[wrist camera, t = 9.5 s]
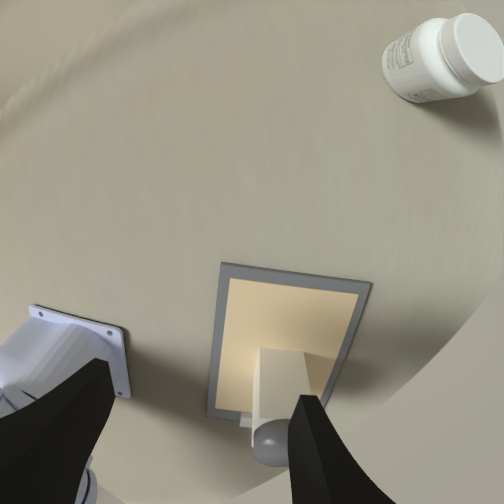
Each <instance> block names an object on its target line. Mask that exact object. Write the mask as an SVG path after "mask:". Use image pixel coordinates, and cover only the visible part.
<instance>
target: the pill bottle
mask: <svg viewBox="0 0 504 504" xmlns="http://www.w3.org/2000/svg"><path fill="white" fill-rule="evenodd" d="M382 70H383V73H384V76H385V78H386V80H387V82H388V84H389V85H390V87H391V88H392V89H393V90H394V91H395V92H396V93H397V94H398V95H399V96H401V97H402V98H404V99H406V100H408V101H411V102H416V103H423V102H430V101H436V100H443V99H451V98H459V97H465V96H469V95H472V94H474V93H475V92H476V91H477V90H478V89H479V88H480V87H481V86H485V85H490V84H496V83H499V82H501V81H502V80H503V79H504V45H503V43H502V40H501V39H500V37H499V36H498V34H497V32H496V31H495V30H494V28H493V27H492V26H491V25H490V24H489V23H488V22H487V21H485V20H484V19H483V18H481V17H479V16H477V15H475V14H470V13H464V14H460V15H458V16H456V17H453V18H451V19H449V20H448V19H444V18H434V19H430V20H428V21H426V22H424V23H422V24H420V25H419V26H417V27H415V28H414V29H412V30H411V31H409V32H407V33H406V34H404V35H403V36H401V37H400V38H398V39H396V40H395V41H393V42H392V43H391V44H389V45H388V46H387V48H386V49H385V51H384V53H383V57H382Z"/></svg>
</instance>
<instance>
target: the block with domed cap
mask: <svg viewBox="0 0 504 504" xmlns="http://www.w3.org/2000/svg"><path fill="white" fill-rule="evenodd" d="M300 394H303V395H311V391H310V385H309V379H308V374H307V369H306V363H305V358H304V353H303V351H292V350H281V349H271V348H262V347H260V348H259V353H258V358H257V363H256V368H255V372H254V377H253V410H252V447H253V456H254V458H255V460H257V461H258V462H259V463H261V464H264V465H267V466H272V467H287V466H289V460H288V450H287V445H288V425H289V422H290V420H291V417H292V415H293V412H294V410H295V407H296V404H297V402H298V399H299V396H300Z"/></svg>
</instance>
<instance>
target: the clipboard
mask: <svg viewBox="0 0 504 504" xmlns="http://www.w3.org/2000/svg"><path fill="white" fill-rule="evenodd" d="M370 285H371V284H370V282H367V281H359V280H351V279H343V278H335V277H327V276H320V275H312V274H305V273H297V272H290V271H282V270H275V269H268V268H260V267H253V266H246V265H239V264H232V263H225V262H221V266H220V275H219V284H218V293H217V303H216V312H215V322H214V333H213V343H212V354H211V365H210V376H209V388H208V401H207V414H206V417H211V418H218V419H225V420H234V421H240V426H239V427H248V428H252V410H253V377H254V372H255V368H256V363H257V358H258V353H259V348H260V347H262V348H271V349H281V350H292V351H303V353H304V358H305V363H306V369H307V374H308V379H309V385H310V391H311V395H317V397H318V398H319V400H320V402H321V404H322V406H323V408H324V406H325V403H326V401H327V399H328V397H329V395H330V392H331V390H332V388H333V385H334V383H335V381H336V378H337V376H338V374H339V371H340V369H341V366H342V364H343V361H344V359H345V356H346V354H347V351H348V348H349V346H350V343H351V341H352V338H353V335H354V332H355V330H356V327H357V324H358V321H359V319H360V316H361V313H362V310H363V307H364V304H365V301H366V298H367V295H368V292H369V289H370Z"/></svg>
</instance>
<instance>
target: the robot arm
mask: <svg viewBox="0 0 504 504" xmlns="http://www.w3.org/2000/svg"><path fill="white" fill-rule="evenodd" d="M29 312H30V317H29V318H28V319H27V320H26V321H25V322H24V323H23V324H22V325H21V326H20V327H19V328H18V329H17V330H16V331H15V332H14V333H13V334H12V335H11V336H10V337H9V338H8V339H7V340H6V341H5V342H4V343H3V344H2V345H1V346H0V504H96V500H97V493H98V491H97V479H96V476H95V474H94V472H93V471H92V470H91V469H90V468H89V466H90V464H91V461H92V459H93V457H92V456H91V455H90V454H91V452H92V450H93V448H94V446H95V444H96V442H97V440H98V438H99V436H100V434H101V432H102V430H103V428H104V426H105V424H106V422H107V419H108V417H109V415H110V412H111V409H112V406H113V403H114V400H115V397H116V396H119V397H123V398H130V396H131V390H130V384H129V377H128V371H127V363H126V356H125V347H124V338H123V332H122V330H121V329H120V328H118V327H114V326H110V325H106V324H102V323H98V322H94V321H90V320H86V319H82V318H78V317H74V316H71V315H67V314H63V313H60V312H56V311H53V310H49V309H46V308H43V307H39V306H36V305H31V306H30V307H29ZM41 312H42V313H41ZM110 331H111V332H112V333H111V332H110ZM115 395H116V396H115ZM287 450H288V460H289V470H290V479H291V489H292V500H293V501H292V503H293V504H396V503H395V502H393V501H392V500H391V499H390V498H389V497H388V496H387V495H386V494H385V493H384V492H382V491H381V490H380V489H379V488H378V487H377V486H376V485H375V483H374V482H373V481H372V480H371V479H370V478H369V477H368V476H367V475H366V473H365V472H364V471H363V470H362V469H361V467H360V466H359V465H358V463H357V462H356V461H355V460H354V458H353V457H352V455H351V454H350V452H349V451H348V449H347V448H346V446H345V445H344V443H343V442H342V440H341V438H340V437H339V435H338V434H337V432H336V430H335V429H334V427H333V425H332V423H331V421H330V420H329V418H328V416H327V414H326V412H325V410H324V408H323V406H322V404H321V402H320V400H319V398H318V397H317V395H303V394H300V396H299V399H298V402H297V404H296V407H295V410H294V412H293V415H292V417H291V420H290V422H289V425H288V445H287Z"/></svg>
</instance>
